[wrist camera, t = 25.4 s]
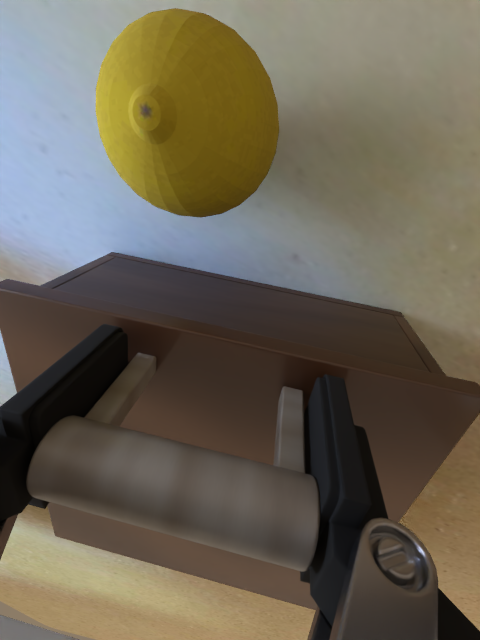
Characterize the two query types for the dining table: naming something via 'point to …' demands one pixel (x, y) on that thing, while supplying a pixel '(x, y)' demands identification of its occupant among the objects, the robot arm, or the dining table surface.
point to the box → (251, 308)
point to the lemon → (186, 113)
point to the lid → (215, 439)
